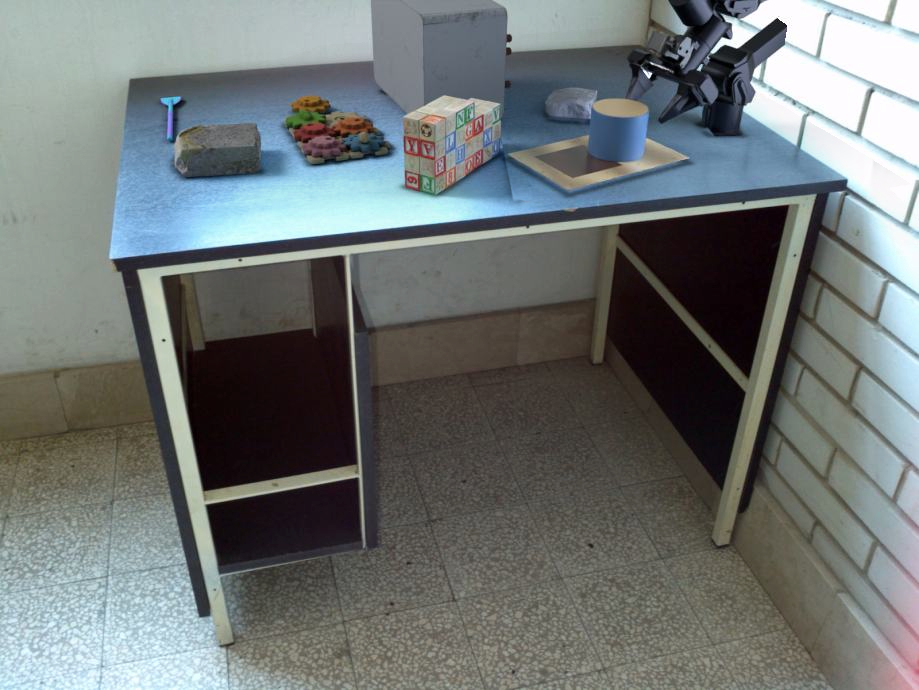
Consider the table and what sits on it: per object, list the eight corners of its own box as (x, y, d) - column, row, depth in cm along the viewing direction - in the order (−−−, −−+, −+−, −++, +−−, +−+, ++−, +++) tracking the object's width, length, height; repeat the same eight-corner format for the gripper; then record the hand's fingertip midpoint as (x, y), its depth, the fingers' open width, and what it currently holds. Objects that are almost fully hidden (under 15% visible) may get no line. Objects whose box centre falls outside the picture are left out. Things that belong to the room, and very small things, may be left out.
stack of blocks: (471, 146, 163) (472, 80, 156) (500, 154, 160) (503, 86, 153) (404, 187, 148) (402, 115, 141) (435, 195, 145) (435, 122, 138)
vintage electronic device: (512, 126, 172) (518, -9, 158) (424, 138, 166) (422, -2, 152) (453, 78, 196) (454, -43, 182) (374, 87, 191) (369, -37, 177)
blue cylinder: (637, 141, 163) (643, 98, 159) (648, 162, 155) (655, 117, 151) (583, 141, 163) (587, 98, 159) (592, 162, 155) (596, 117, 150)
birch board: (622, 131, 170) (623, 126, 170) (689, 163, 157) (689, 157, 157) (506, 159, 158) (506, 153, 158) (568, 195, 146) (568, 189, 145)
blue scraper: (162, 98, 183) (161, 93, 182) (182, 97, 184) (181, 92, 183) (150, 142, 163) (149, 136, 162) (174, 141, 163) (172, 135, 163)
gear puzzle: (272, 109, 178) (270, 89, 176) (349, 100, 183) (348, 81, 181) (308, 166, 154) (306, 144, 152) (396, 154, 159) (395, 133, 157)
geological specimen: (262, 144, 150) (169, 147, 146) (264, 177, 153) (174, 181, 149) (258, 120, 158) (170, 122, 154) (260, 153, 161) (174, 155, 158)
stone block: (544, 129, 175) (595, 123, 173) (541, 105, 173) (592, 98, 170) (551, 111, 185) (599, 105, 183) (548, 88, 183) (597, 82, 180)
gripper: (641, 2, 158) (586, 73, 159) (718, 25, 145) (658, 103, 146) (667, 41, 166) (615, 109, 167) (743, 67, 153) (685, 140, 154)
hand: (641, 114), depth 158 cm, fingers open, 9 cm apart
